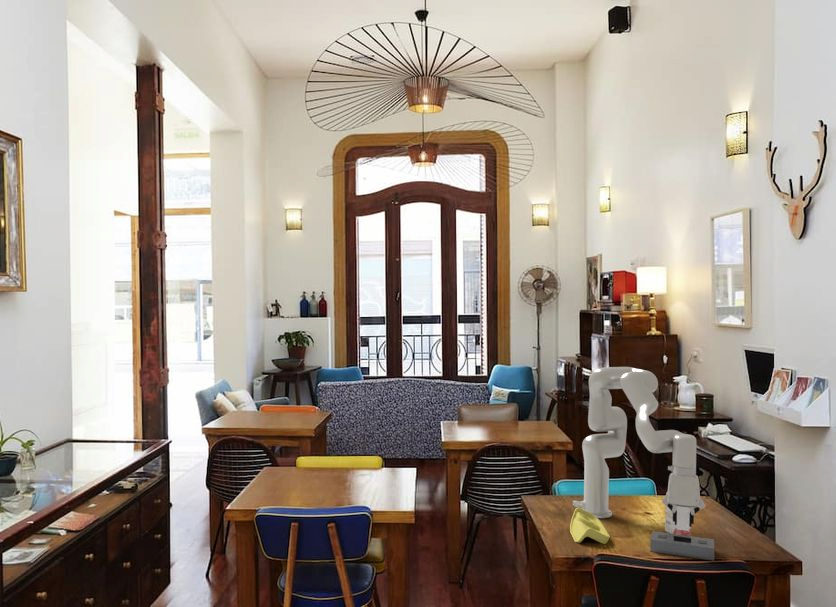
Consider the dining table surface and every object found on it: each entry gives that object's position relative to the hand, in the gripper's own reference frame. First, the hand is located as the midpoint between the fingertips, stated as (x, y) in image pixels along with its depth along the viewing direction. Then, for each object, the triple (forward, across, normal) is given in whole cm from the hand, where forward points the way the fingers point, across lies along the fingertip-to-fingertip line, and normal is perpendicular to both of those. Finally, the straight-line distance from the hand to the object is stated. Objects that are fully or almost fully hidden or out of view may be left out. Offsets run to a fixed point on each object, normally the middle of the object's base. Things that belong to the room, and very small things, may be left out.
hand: (683, 524), depth 240 cm
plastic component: (+9, -32, +3) cm, 33 cm away
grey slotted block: (+9, 0, 0) cm, 9 cm away
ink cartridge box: (+9, -2, +19) cm, 21 cm away
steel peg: (+1, 0, 0) cm, 1 cm away
